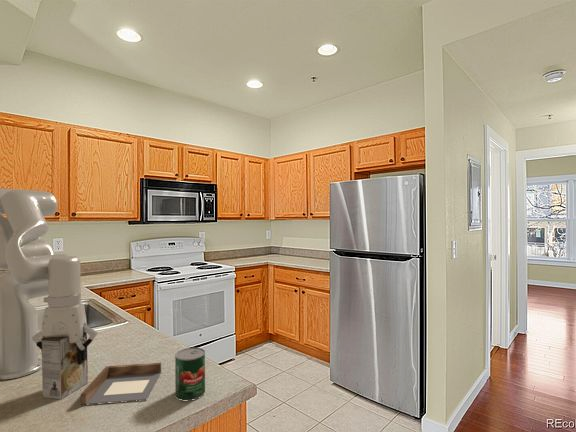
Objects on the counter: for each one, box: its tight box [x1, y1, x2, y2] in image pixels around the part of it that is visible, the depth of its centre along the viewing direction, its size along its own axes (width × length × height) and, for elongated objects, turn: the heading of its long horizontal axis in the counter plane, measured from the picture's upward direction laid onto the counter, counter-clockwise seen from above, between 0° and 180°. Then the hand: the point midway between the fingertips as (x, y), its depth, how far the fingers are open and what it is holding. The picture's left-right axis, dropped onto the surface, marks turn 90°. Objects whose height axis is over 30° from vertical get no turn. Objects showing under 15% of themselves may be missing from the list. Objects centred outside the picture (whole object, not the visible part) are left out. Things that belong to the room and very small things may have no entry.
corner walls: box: [80, 362, 162, 406], centre depth 94 cm, size 16×16×3 cm
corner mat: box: [85, 371, 162, 406], centre depth 94 cm, size 16×16×1 cm
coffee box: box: [41, 331, 89, 400], centre depth 93 cm, size 9×6×16 cm
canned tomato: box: [174, 347, 206, 400], centre depth 91 cm, size 8×8×11 cm
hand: (65, 363), depth 93 cm, fingers closed on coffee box, 7 cm apart
